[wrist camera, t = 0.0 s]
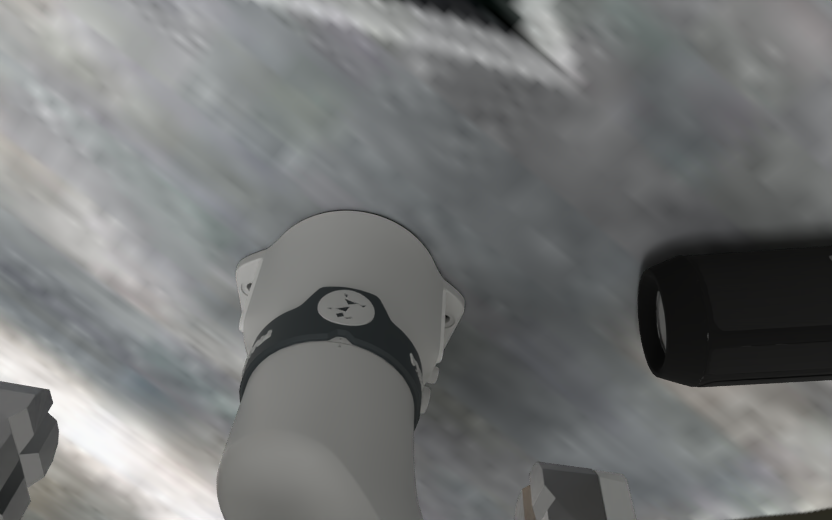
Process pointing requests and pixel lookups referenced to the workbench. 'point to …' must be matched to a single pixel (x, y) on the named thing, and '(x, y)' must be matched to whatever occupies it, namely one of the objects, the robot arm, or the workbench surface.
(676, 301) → the portable speaker
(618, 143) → the workbench surface
